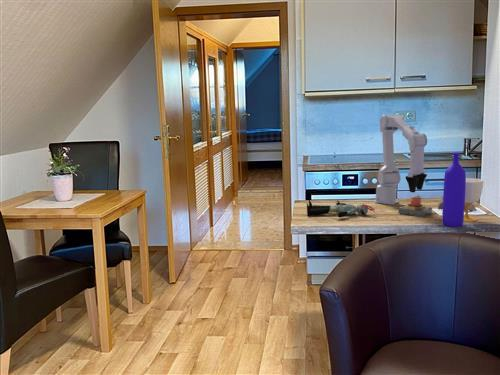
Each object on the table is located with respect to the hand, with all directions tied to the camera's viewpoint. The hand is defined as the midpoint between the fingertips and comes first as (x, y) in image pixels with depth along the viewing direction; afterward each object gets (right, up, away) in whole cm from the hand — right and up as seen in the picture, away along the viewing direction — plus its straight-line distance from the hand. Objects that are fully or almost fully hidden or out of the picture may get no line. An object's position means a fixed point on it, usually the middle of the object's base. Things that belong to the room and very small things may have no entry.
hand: (415, 190), depth 232 cm
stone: (+22, -9, +10) cm, 26 cm away
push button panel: (0, -10, +2) cm, 10 cm away
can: (0, -8, +1) cm, 8 cm away
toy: (-33, -11, +4) cm, 35 cm away
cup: (+18, -12, -11) cm, 25 cm away
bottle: (+9, -14, -20) cm, 26 cm away
